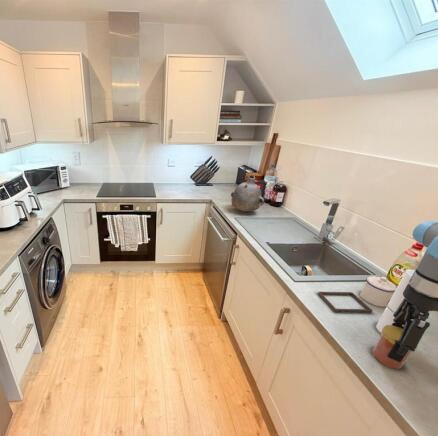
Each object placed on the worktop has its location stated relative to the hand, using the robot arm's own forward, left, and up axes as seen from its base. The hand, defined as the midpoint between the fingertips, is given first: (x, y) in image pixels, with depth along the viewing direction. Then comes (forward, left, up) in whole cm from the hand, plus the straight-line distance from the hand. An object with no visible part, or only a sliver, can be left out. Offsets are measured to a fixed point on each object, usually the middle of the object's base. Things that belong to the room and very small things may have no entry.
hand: (392, 349), depth 72 cm
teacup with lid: (-19, -28, -5) cm, 34 cm away
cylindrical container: (-10, -10, -5) cm, 15 cm away
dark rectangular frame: (-4, -24, -5) cm, 25 cm away
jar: (0, 0, -5) cm, 5 cm away
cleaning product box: (-13, -147, -5) cm, 148 cm away
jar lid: (0, 0, +6) cm, 6 cm away
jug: (0, -126, -5) cm, 126 cm away
